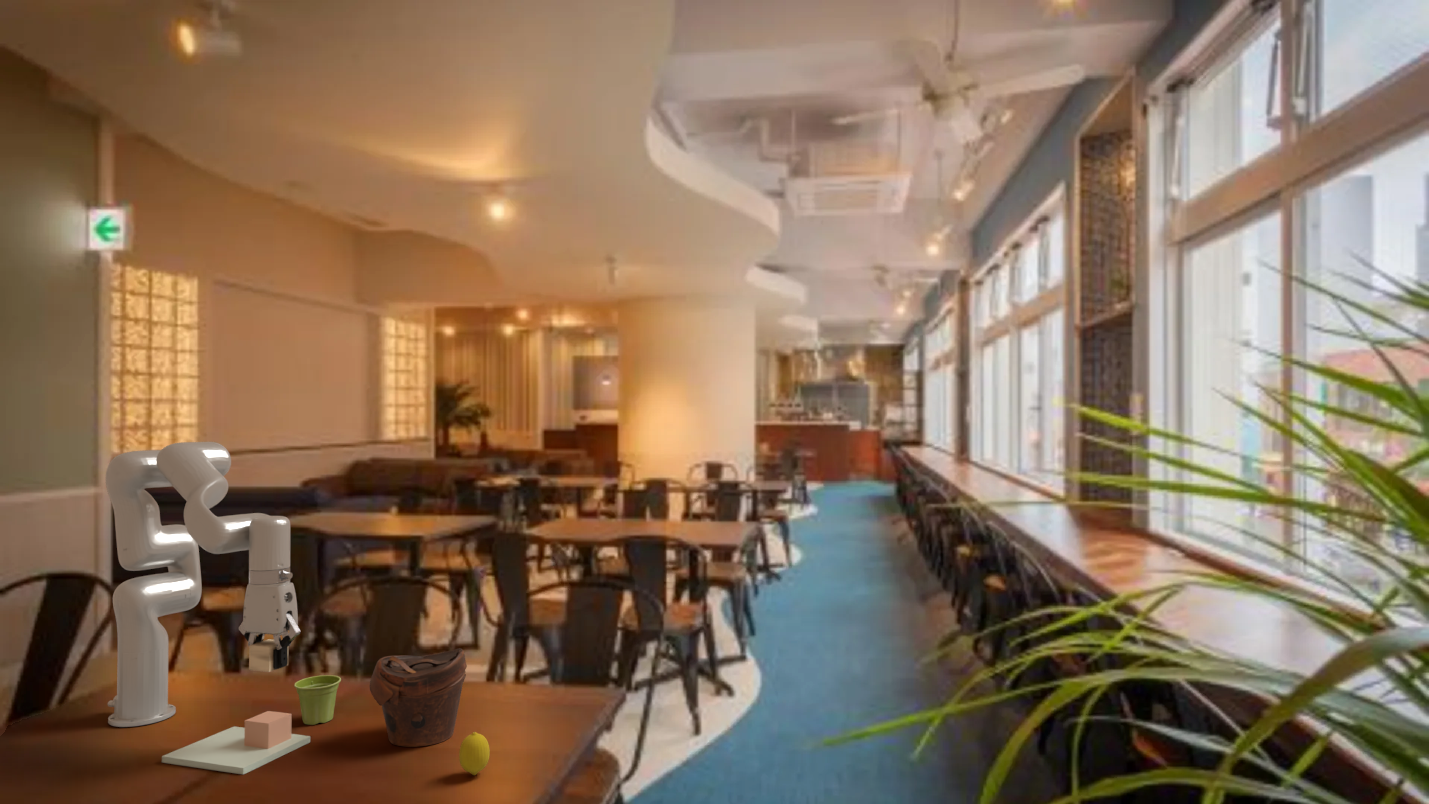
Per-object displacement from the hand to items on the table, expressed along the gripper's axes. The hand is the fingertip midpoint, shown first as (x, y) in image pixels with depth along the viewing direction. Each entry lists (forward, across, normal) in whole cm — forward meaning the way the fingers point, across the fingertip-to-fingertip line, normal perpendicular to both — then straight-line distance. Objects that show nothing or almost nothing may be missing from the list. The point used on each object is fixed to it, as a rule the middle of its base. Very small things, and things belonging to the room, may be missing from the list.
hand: (269, 665), depth 174 cm
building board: (+17, +4, +4) cm, 18 cm away
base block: (+16, 0, 0) cm, 16 cm away
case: (+17, -26, -14) cm, 34 cm away
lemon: (+17, -48, 0) cm, 51 cm away
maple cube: (0, 0, 0) cm, 0 cm away
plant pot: (+17, +2, -16) cm, 23 cm away
